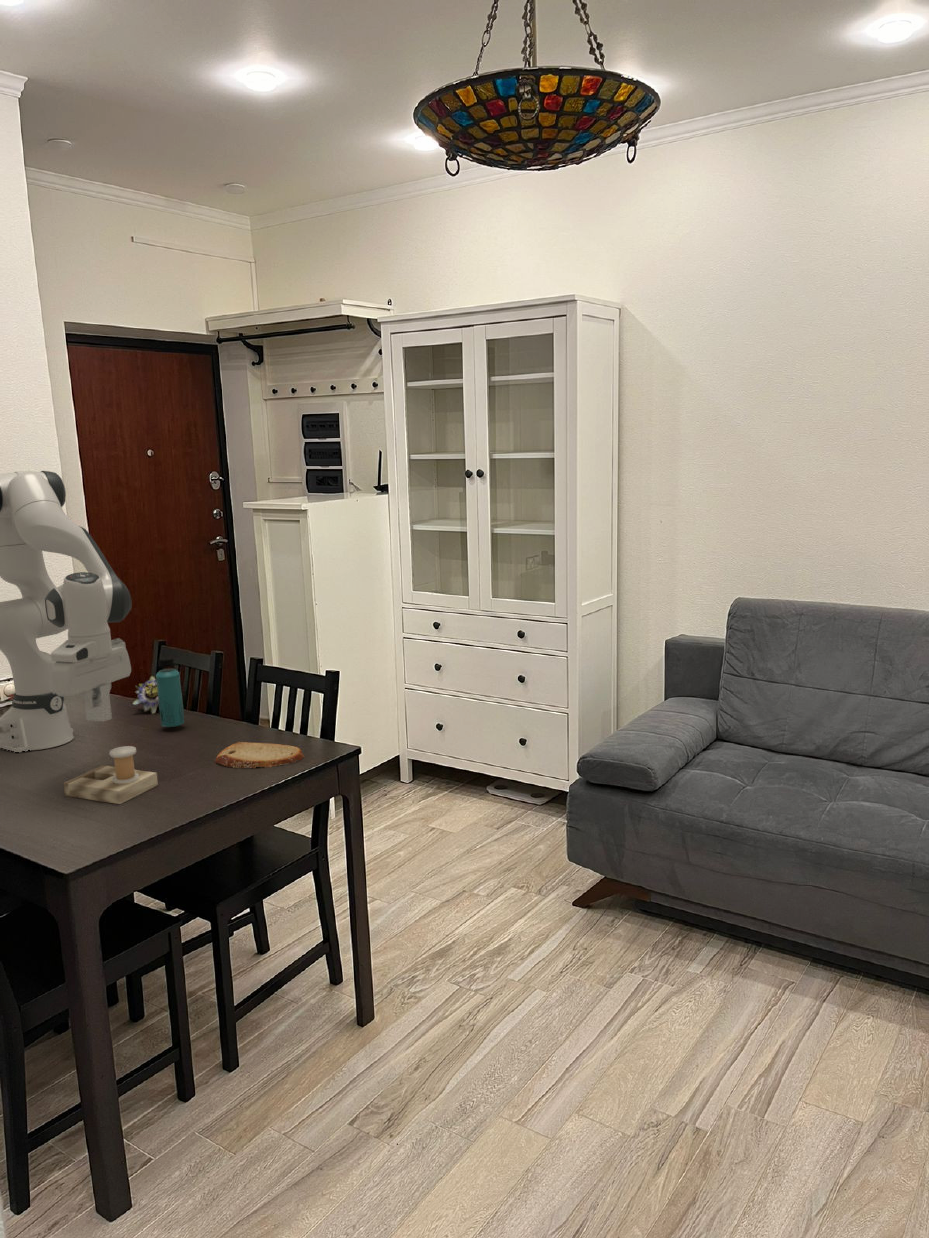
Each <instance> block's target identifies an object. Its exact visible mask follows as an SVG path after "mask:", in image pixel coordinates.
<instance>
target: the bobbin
mask: <svg viewBox="0 0 929 1238" xmlns="http://www.w3.org/2000/svg"><path fill="white" fill-rule="evenodd" d="M136 753H137V748H136V747H135V746H132V745H127V746H125V745H124V746H118V747H115V748H112V749H110V750H109V757H110V758H113V762H114V767H115V772H116V775H115V776H114V777H113V778H112V780H113V783H114V784H119V785H122V784H129V783H133V782H135V781H137V780H138V779H139V774H138V773H135V771H134V770H135V763H134V755H135V754H136Z"/></svg>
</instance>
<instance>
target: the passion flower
mask: <svg viewBox="0 0 929 1238" xmlns="http://www.w3.org/2000/svg"><path fill="white" fill-rule="evenodd" d="M135 688H136V691H134V693H135V694H137V697H136V699H134V700H133V701H132V703H131V705H132V706H138V705H140V704H142V707H143V712H144V713H146V712H148V711H150V713H151V715H155V714H156V712H157V708H158V707H159V703H158V702H159V700H158V689H157V680H156V677H155V676H153V675H151V676H150V677H149V679H148V680H146V681H145V682H143V683H139V684H138V686H137V685H135Z"/></svg>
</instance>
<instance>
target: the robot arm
mask: <svg viewBox="0 0 929 1238" xmlns="http://www.w3.org/2000/svg"><path fill="white" fill-rule="evenodd" d="M65 487H66V486H65V484H64V481H63V479H62V477H61V476H60V475H59V474H57V473H56V472H54V471H49V470H41V471H29V470H28V471H27V470H26V471H13V472H7V473H0V578H1V579H2V580H3V581H5V582H7V583H9V584H11V585H14V586H16V588H17V589H18V590H19V592H20V593H21V598H15V599H11V600H4V601H0V651H1V653H3V655H4V656H5V658H6V660H7V661H8V664H9V666H10V670H11V674H12V679H13V685H14V693H12V694H9V695H8V697H9V698H8V700H12V701H11V706H10V707H9V709H8V710H7V711H6V712H4V714H3V713H2V715H1V716H0V747H2V748H4V749H9V750H12V751H14V752H13V753H15V752H19V753H23V752H22V751H25V752H29V751H28V750H30V751H37V750H44V749H51V748H55V747H58V746H61V745H62V746H63V745H65V744H67V743H70V742H71V741H73V739H74V737H75V736H74V732H75V731H74V729H73V727H71V723H70V718H69V715H68V714H69V713H68V711H67V706H66V705H65V703H64V701H65V698H68V697H69V698H70V697H72V696H75V695H79V696H80V697H81V699H82V701H84V708H85V707H86V709H92V708H95V707H96V700H92V698H91V697H90V695H89V694H91V689H93V688H96V687H98V686H100V685H103V684H108V688H109V694H110V692H111V689H112V683H113V682H116V681H120V680H122V679H125V678H128V677H130V675H131V673H132V666H131V659H130V656H129V653H128V650H127V648H126V647H127V646H126V642H125V641H124V640H123V639H121V638H120V637H116V638H114V639H112V636H111V628H110V626H109V624H111V623H120V622H122V621H123V620H124V619H125V618H126V617H127V616H128V614H129V613H130V611H131V609H132V606H133V602H132V597H131V593H130V590H129V589H128V587H127V586H126V584H125V583H124V582H123V581H122V580H121V579H120V578H119V577H118V576H117V574H116V573H115V571H114V569H113V568H112V566H111V565H110V563H109V562H108V560H107V558H106V557H105V555H104V554H103V552H102V550H101V549H100V547H99V545H97V543H96V541H95V539H93V537H92V536H91V534H90V533H89V531H88V529H86V528H84V527H83V526H80V525H78V524H77V523H75V522H74V521H73V520H72V519H71V518H70V517H68V515H67V514H66V513H65V512H64V510H63V506H65V503H66V495H67V491H66V488H65ZM43 552H46V553H52V554H53V553H55V554H59V555H65V556H68V557H71V558H74V559H76V560H78V561H79V562H80V563H81V564H82V565H83V567H84V568H85V570H86V571H87V572H86V571H82V572H81V571H79V572H73V573H70V574H68V575H66V576H65V577H64V578H63V583H62V584H61V585H60V586H56V585H55V583H54V582H53V580H51V577H50V575H49V574H48V571H47V568H46V563H45V559H44V558H45V557H44V554H43ZM67 630H68V631H67ZM65 631H67V640H65V641H64V642H62V644H61V645H59V646H58V647H56V648H55V649H54V650H52V651H51V653H48V652H46V651H42V650H41V649H39V647H38V644H37V639H40V638H45V637H51V636H54V635H58V634H60V633H62V632H65ZM86 709H85V710H86ZM4 749H3V750H4Z"/></svg>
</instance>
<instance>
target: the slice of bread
mask: <svg viewBox="0 0 929 1238" xmlns="http://www.w3.org/2000/svg"><path fill="white" fill-rule="evenodd" d="M303 757H304V758H305V756H304V753H303V751H302V750H301V749H300V748H299V747H297V746H293V745H290V744H289V745H288V744H280V743H270V742H269V743H268V742H266V743H264V742H247V741H245V742H244V741H243V742H242V741H238V742H235V743H232V744H231V745H229V746H227V747H225V748H224V749H223V750H221V751H220V752H219V753H218V754H217V756H216V757H215V760H214V763H215V764H216V763H217V764H218V765H221V766H223V767H225V768H230V767H232V768H231V769H244V768H253V769H257V768H256V767H269V768H273V767H272V766H277V765H282V764H285V763H292V762H295V761H297V760H300V761H302V760H303V759H302V758H303ZM301 759H302V760H301ZM295 763H296V762H295ZM217 764H216V765H217ZM292 764H293V763H292ZM277 767H278V766H277Z"/></svg>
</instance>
